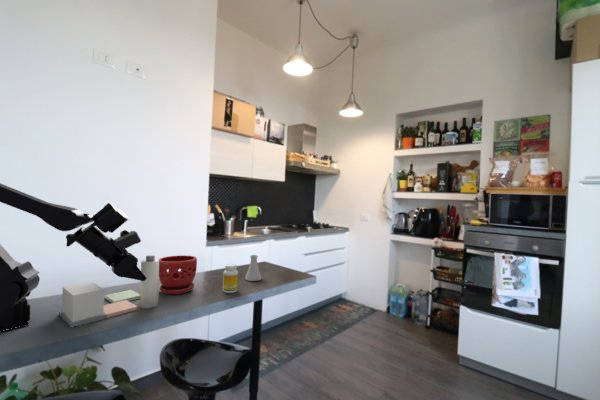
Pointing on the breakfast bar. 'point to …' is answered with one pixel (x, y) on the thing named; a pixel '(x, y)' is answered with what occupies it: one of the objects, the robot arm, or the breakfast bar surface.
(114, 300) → the sage green pad
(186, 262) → the plant pot
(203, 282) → the breakfast bar surface
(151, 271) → the cream bottle
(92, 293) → the grey unit
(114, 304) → the terracotta pad
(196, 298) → the breakfast bar surface
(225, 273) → the supplement bottle
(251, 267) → the flask
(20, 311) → the robot arm
